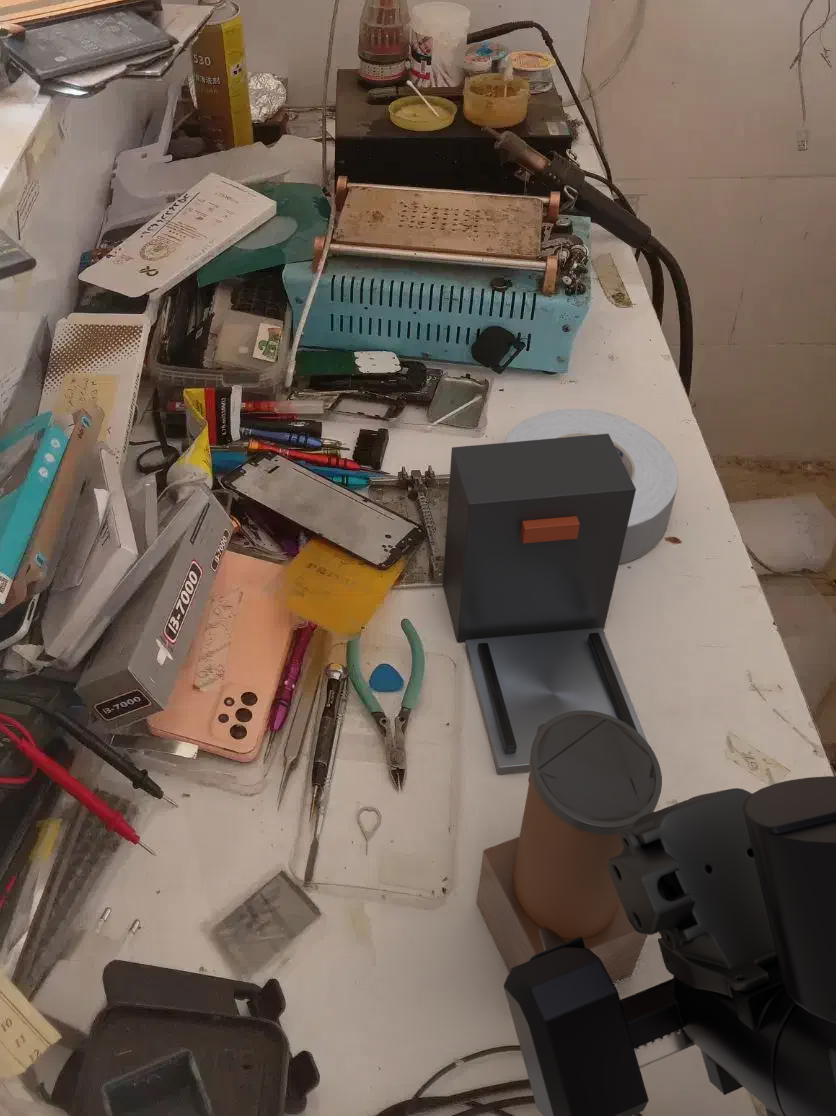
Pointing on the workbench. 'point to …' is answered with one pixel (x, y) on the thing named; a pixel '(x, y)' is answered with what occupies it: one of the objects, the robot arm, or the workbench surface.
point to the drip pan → (543, 687)
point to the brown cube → (522, 933)
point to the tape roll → (639, 457)
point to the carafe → (580, 818)
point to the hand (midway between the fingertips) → (623, 906)
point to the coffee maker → (534, 535)
